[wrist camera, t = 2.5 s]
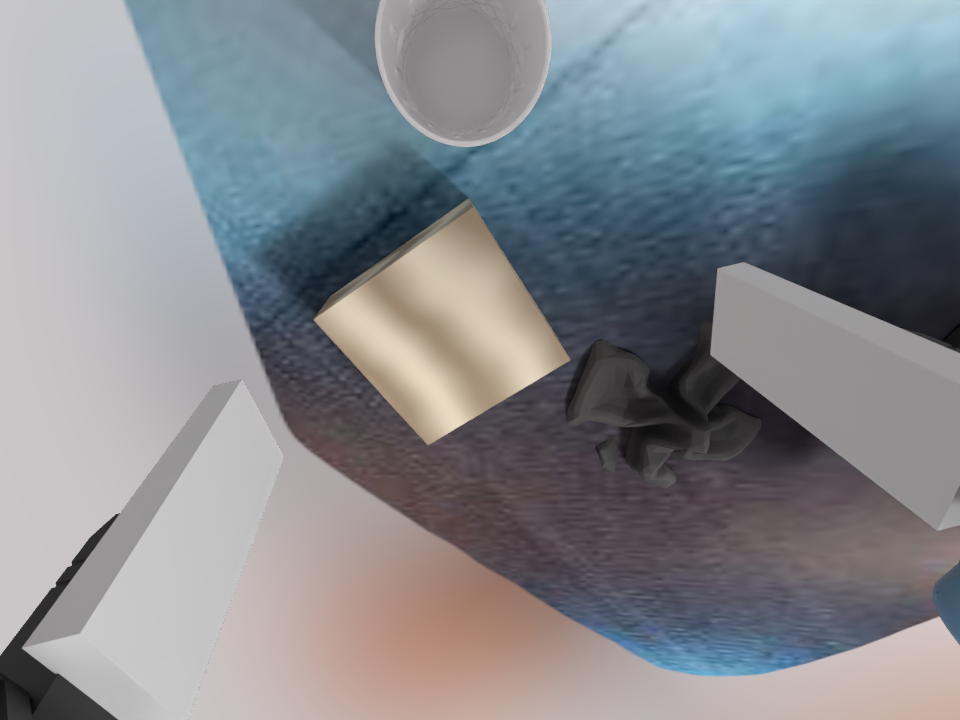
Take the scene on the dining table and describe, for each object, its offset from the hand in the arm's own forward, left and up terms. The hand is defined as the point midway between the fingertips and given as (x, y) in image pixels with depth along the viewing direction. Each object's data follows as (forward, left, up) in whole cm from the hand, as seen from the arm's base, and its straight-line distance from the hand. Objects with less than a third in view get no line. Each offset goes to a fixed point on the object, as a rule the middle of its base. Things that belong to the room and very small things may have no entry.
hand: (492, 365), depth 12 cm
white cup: (-5, -8, -23) cm, 25 cm away
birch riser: (+5, +5, -23) cm, 24 cm away
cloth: (-6, +26, -24) cm, 36 cm away
